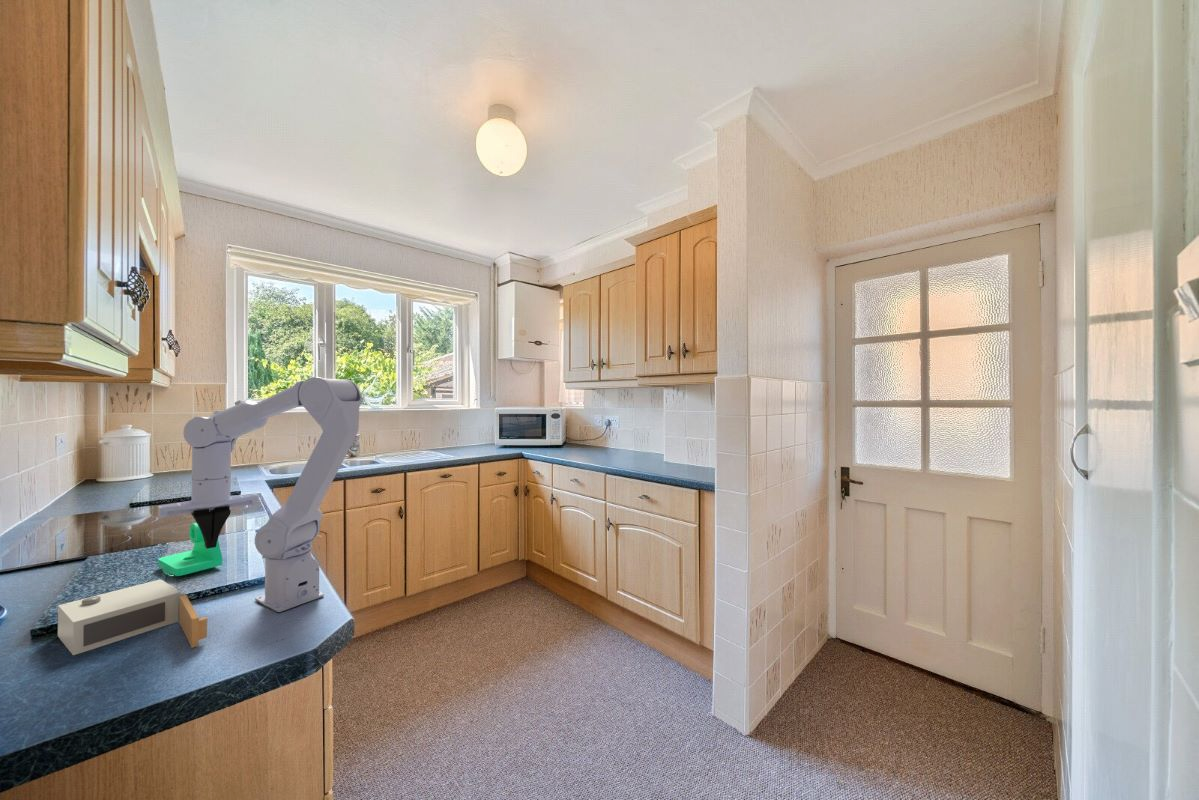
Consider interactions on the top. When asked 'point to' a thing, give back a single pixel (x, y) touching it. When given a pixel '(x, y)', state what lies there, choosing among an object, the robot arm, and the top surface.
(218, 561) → the camera mount
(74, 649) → the housing
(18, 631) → the top surface
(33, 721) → the top surface
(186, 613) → the door
